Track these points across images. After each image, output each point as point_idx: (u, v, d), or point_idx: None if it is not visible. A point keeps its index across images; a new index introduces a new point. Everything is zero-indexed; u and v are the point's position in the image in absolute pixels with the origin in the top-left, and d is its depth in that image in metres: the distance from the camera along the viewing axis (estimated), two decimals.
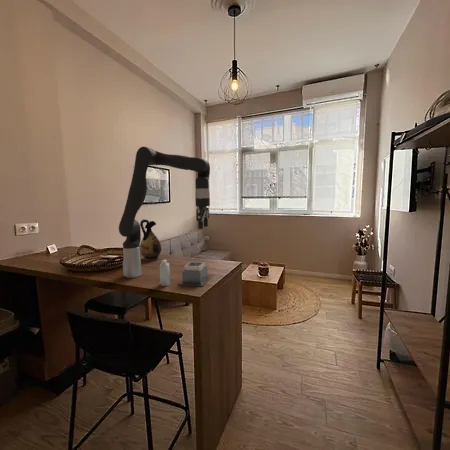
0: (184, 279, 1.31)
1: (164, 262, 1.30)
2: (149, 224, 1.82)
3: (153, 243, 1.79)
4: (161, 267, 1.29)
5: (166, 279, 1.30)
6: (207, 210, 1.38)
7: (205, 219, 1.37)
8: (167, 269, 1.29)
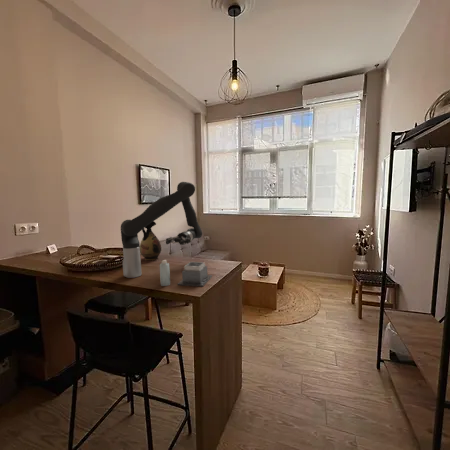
0: (184, 279, 1.31)
1: (164, 262, 1.30)
2: (149, 224, 1.82)
3: (153, 243, 1.79)
4: (161, 267, 1.29)
5: (166, 279, 1.30)
6: (172, 241, 1.51)
7: (170, 241, 1.46)
8: (167, 269, 1.29)
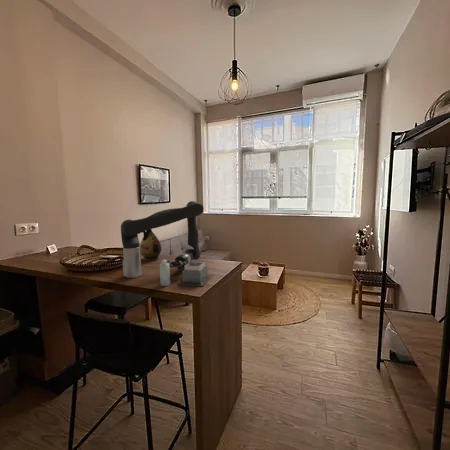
0: (184, 279, 1.31)
1: (164, 262, 1.30)
2: None
3: (153, 243, 1.79)
4: (161, 267, 1.29)
5: (166, 279, 1.30)
6: (169, 264, 1.49)
7: None
8: (167, 269, 1.29)
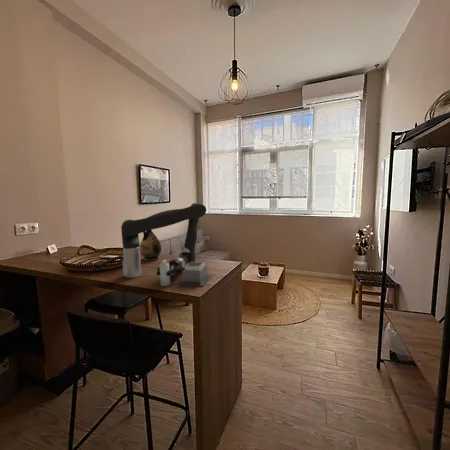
0: (184, 279, 1.31)
1: (164, 262, 1.30)
2: None
3: (153, 243, 1.79)
4: (161, 267, 1.29)
5: (166, 279, 1.30)
6: None
7: None
8: (167, 269, 1.29)
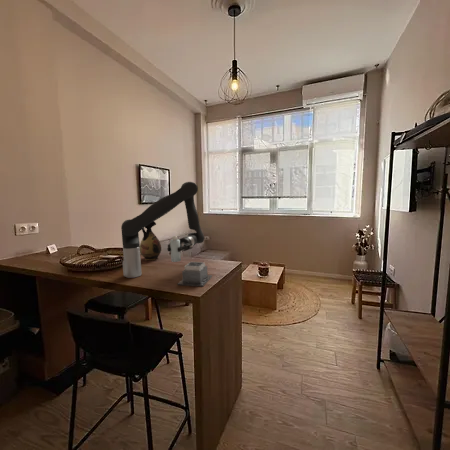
0: (184, 279, 1.31)
1: (175, 238, 1.30)
2: (149, 224, 1.82)
3: (153, 243, 1.79)
4: (172, 243, 1.29)
5: (177, 255, 1.30)
6: None
7: None
8: (177, 245, 1.30)
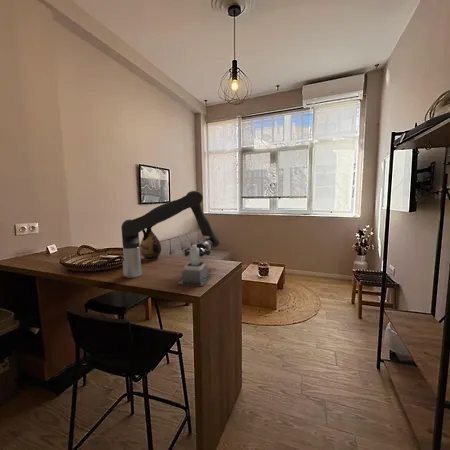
0: (184, 279, 1.31)
1: (194, 247, 1.33)
2: None
3: (153, 243, 1.79)
4: (191, 251, 1.32)
5: (197, 263, 1.33)
6: None
7: (188, 252, 1.38)
8: (197, 254, 1.33)
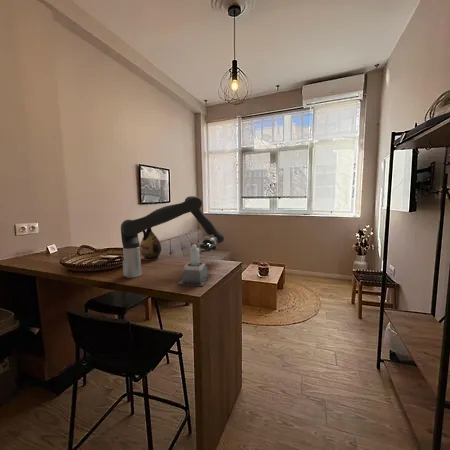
0: (184, 279, 1.31)
1: (194, 247, 1.33)
2: None
3: (153, 243, 1.79)
4: (191, 251, 1.32)
5: (197, 263, 1.33)
6: None
7: None
8: (197, 254, 1.33)
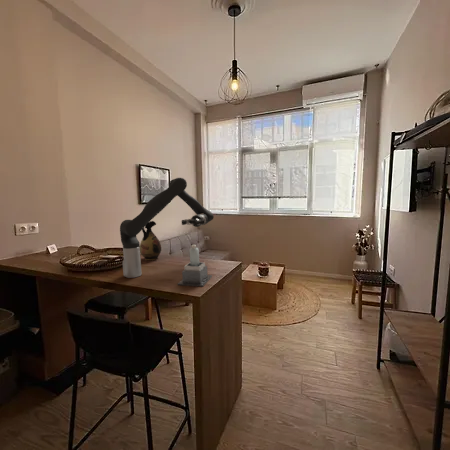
0: (184, 279, 1.31)
1: (194, 247, 1.33)
2: (149, 224, 1.82)
3: (153, 243, 1.79)
4: (191, 251, 1.33)
5: (196, 263, 1.33)
6: (186, 222, 1.58)
7: (185, 222, 1.53)
8: (196, 254, 1.33)
